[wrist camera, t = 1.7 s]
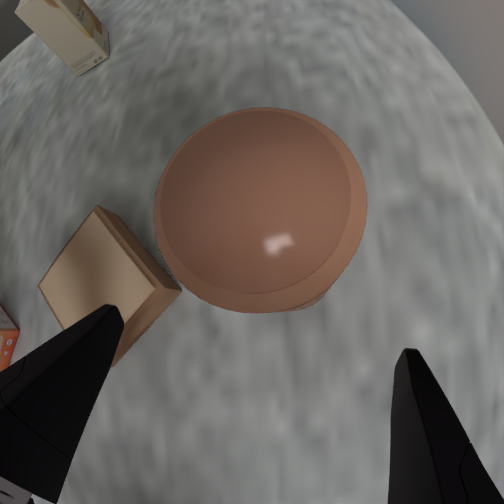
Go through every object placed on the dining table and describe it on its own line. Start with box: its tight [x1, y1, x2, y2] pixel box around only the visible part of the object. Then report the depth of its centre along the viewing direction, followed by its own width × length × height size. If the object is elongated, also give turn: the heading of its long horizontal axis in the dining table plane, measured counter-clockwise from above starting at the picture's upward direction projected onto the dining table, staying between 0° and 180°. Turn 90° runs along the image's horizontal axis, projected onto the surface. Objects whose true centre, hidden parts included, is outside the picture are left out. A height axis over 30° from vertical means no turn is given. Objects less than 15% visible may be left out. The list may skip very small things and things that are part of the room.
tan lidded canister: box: [154, 107, 367, 313], centre depth 14 cm, size 6×6×13 cm
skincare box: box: [15, 0, 109, 76], centre depth 22 cm, size 6×4×12 cm
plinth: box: [38, 205, 182, 367], centre depth 21 cm, size 8×8×3 cm
